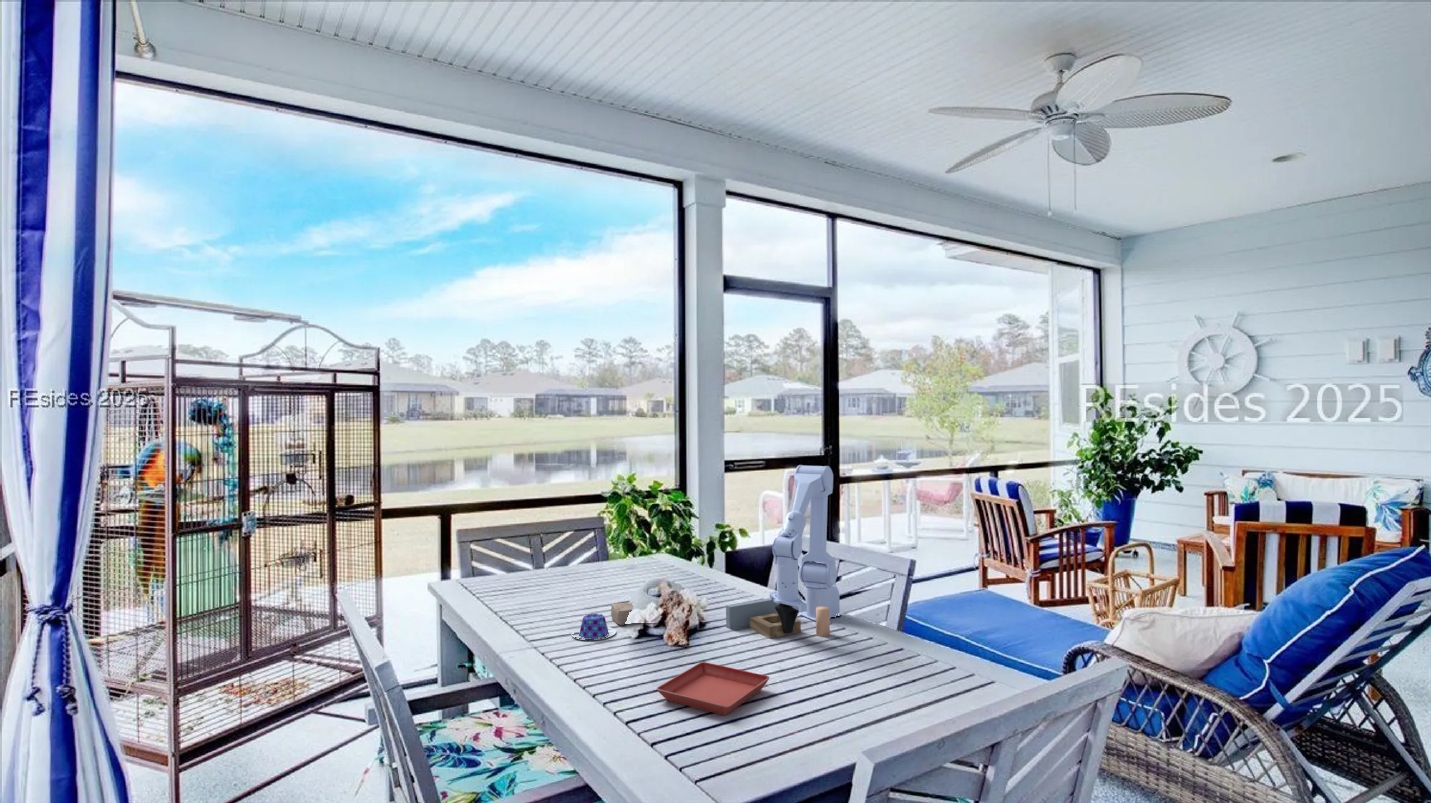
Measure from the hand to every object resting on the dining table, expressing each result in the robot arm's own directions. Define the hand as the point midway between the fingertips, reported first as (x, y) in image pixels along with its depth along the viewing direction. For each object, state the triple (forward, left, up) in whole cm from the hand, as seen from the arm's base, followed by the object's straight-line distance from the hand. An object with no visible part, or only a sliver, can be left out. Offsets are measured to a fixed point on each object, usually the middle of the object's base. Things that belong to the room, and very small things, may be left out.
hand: (788, 632), depth 197 cm
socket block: (0, -6, -1) cm, 6 cm away
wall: (0, -15, -1) cm, 15 cm away
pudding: (+44, -29, -2) cm, 52 cm away
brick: (+27, -36, -2) cm, 45 cm away
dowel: (-9, +3, -1) cm, 10 cm away
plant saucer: (+36, +24, -2) cm, 44 cm away
